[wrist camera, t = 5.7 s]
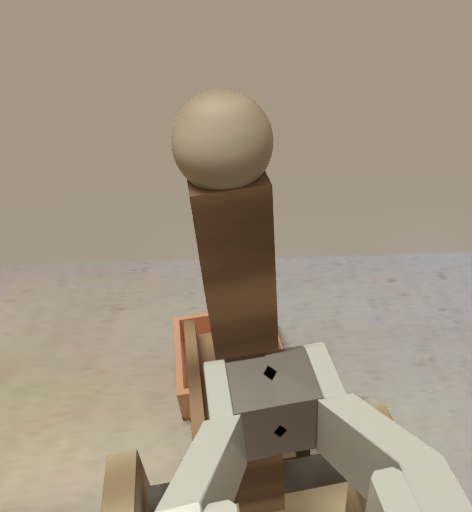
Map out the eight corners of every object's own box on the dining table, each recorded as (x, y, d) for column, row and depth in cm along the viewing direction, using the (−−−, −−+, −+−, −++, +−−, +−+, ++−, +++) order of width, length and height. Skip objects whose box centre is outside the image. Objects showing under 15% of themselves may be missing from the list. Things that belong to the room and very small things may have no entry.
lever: (370, 498, 24) (444, 76, 11) (154, 542, 23) (-16, 135, 10) (301, 326, 35) (302, 20, 22) (154, 351, 34) (72, 46, 22)
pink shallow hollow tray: (292, 400, 41) (291, 375, 39) (183, 420, 40) (177, 395, 38) (269, 325, 49) (267, 302, 47) (178, 340, 48) (173, 317, 46)
